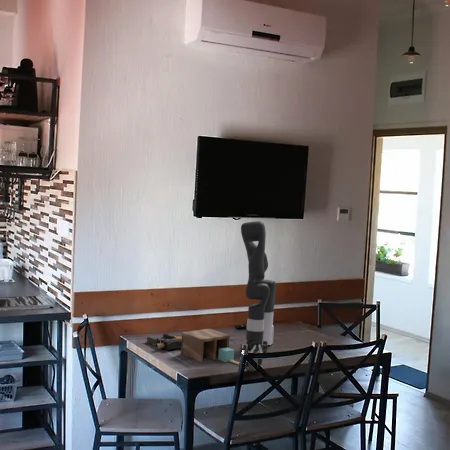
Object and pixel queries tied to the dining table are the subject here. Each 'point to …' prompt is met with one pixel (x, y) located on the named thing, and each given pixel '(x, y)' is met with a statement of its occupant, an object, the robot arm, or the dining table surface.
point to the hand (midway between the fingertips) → (252, 365)
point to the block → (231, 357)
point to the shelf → (203, 343)
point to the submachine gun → (166, 342)
